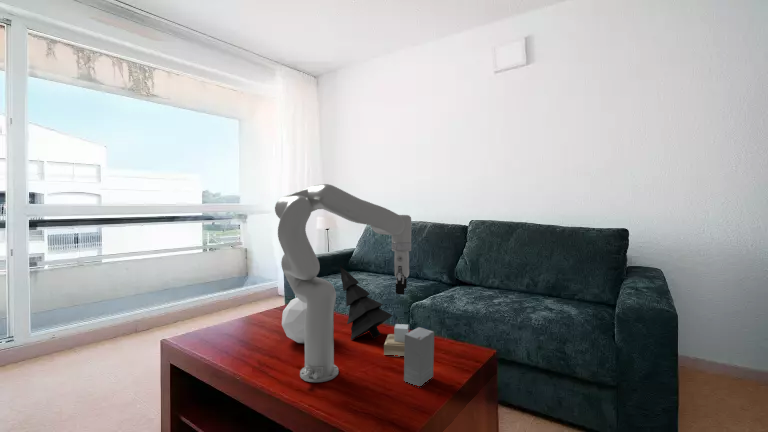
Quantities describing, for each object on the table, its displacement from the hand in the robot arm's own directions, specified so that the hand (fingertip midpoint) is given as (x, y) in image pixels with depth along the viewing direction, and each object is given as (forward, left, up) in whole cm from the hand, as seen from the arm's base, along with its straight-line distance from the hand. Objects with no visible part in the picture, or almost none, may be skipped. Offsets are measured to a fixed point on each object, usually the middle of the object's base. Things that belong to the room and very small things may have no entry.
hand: (401, 291), depth 140 cm
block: (0, 0, -19) cm, 19 cm away
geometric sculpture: (+4, +40, -23) cm, 46 cm away
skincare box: (-24, -8, -23) cm, 34 cm away
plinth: (0, 0, -23) cm, 23 cm away
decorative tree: (+14, +19, -23) cm, 33 cm away
